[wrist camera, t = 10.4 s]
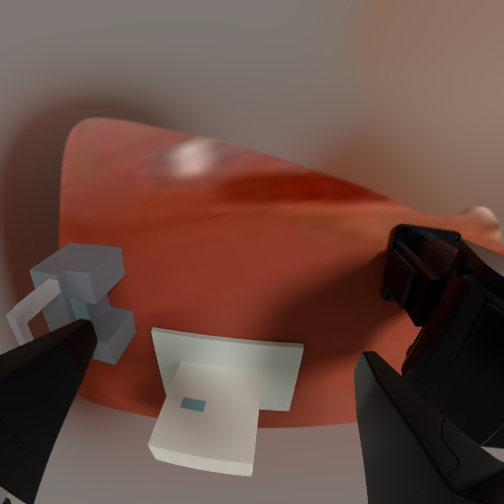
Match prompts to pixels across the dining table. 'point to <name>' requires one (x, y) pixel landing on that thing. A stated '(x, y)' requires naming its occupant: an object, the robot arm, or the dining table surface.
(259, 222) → the dining table surface
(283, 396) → the mat
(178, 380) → the white rectangular block
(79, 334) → the robot arm
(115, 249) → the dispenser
